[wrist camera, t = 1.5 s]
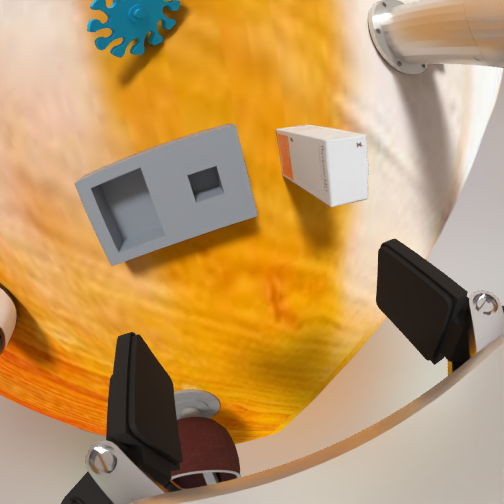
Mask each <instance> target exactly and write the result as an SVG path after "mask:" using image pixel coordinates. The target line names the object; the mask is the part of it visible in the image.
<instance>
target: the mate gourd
mask: <svg viewBox="0 0 504 504" xmlns="http://www.w3.org/2000/svg"><path fill="white" fill-rule="evenodd" d="M174 398H175V407H176V415H177V423H178V430H179V437H180V444H181V450H182V457H183V462H182V463H179V464H180V470H177V471H171V477H172V479H171V480H172V481H173V482H174V483H176V484H177V485H178V486H179V487H181V488H182V489H183V490H185V489H191V488H196V487H202V486H207V485H211V484H216V483H220V482H225V481H229V480H233V479H237V478H241V475H240V465H239V458H238V454H237V451H236V447H235V444H234V442H233V440H232V438H231V436H230V434H229V433H228V431H227V430H226V429H225V428H224V427H223V426H221V425H220V424H218V423H217V422H216V421H214V420H212V419H209V418H211V417H212V416H214V415H215V414H216V413H217V412H218V410H219V408H220V404H219V400H218V398H217V397H216V396H215V395H213V394H211V393H209V392H206V391H202V390H194V389H189V390H180V391H176V392H174Z"/></svg>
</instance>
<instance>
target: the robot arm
mask: <svg viewBox="0 0 504 504" xmlns="http://www.w3.org/2000/svg"><path fill="white" fill-rule="evenodd" d="M368 21H369V30H370V34H371V37H372V39H373V42H374V44H375V46H376V48H377V50H378V51H379V53H380V54H381V55H382V57H383V58H384V59H385V60H386V61H387V62H388V63H389V64H390V65H391V66H392V67H393V68H395V69H396V70H398V71H400V72H402V73H405V74H419V73H421V72H423V71H425V70H426V68H427V67H428V66H429V64H467V65H482V66H492V67H501V68H504V0H419V1H415V2H411V3H407V4H404V3H402V2H400V1H398V0H381V1H378V2H377V3H375V4H374V5H373V6H372V8H371V10H370V12H369V19H368ZM376 303H377V305H378V307H379V309H380V310H381V311H382V312H383V313H384V314H385V315H386V316H387V317H388V318H389V319H390V320H391V321H392V322H393V323H394V325H395V326H396V327H397V328H399V330H400V331H401V332H402V333H403V334H404V335H405V336H406V338H407V339H409V341H410V342H411V343H412V344H413V345H414V346H415V348H416V349H417V350H418V351H419V352H420V353H421V354H422V355H423V357H425V359H426V360H431V361H432V363H433V364H434V365H435V364H436V363H438V362H439V361H440V360H442V359H443V358H444V356H445V357H446V359H448V376H447V377H446V378H445V379H444V380H443V381H441V382H440V383H438V384H437V385H435V386H434V387H433V388H432V389H430V390H429V391H427V392H426V393H424V394H423V395H421V396H420V397H419V398H417V399H415V400H414V401H412V402H411V403H409V404H408V405H406V406H405V407H403V408H401V409H400V410H398V411H396V412H395V413H393V414H391V415H390V416H388V417H386V418H385V419H383V420H381V421H380V422H378V423H376V424H374V425H373V426H370V427H369V428H367V429H365V430H363V431H361V432H359V433H357V434H355V435H353V436H351V437H349V438H347V439H345V440H343V441H341V442H339V443H336V444H334V445H332V446H330V447H327V448H325V449H323V450H320V451H318V452H316V453H313V454H311V455H308V456H306V457H303V458H301V459H298V460H295V461H292V462H290V463H287V464H284V465H281V466H278V467H275V468H272V469H269V470H265V471H263V472H259V473H255V474H252V475H249V476H245V477H241V478H237V479H233V480H229V481H225V482H220V483H216V484H211V485H207V486H202V487H196V488H191V489H185V490H183V489H182V488H181V487H179V486H178V485H177V484H176V483H174V482H173V481H172V480H171V479H172V477H171V471H177V470H180V464H179V463H182V462H183V457H182V450H181V444H180V437H179V430H178V423H177V415H176V407H175V398H174V388H173V383H172V380H171V378H170V376H169V375H168V374H167V372H166V371H165V370H164V368H163V367H162V366H161V364H160V363H159V362H158V360H157V359H156V357H155V356H154V355H153V353H152V352H151V350H150V349H149V347H148V346H147V344H146V343H145V341H144V340H143V338H142V337H141V336H140V335H135V333H133V332H130V333H127V334H124V335H120V336H118V339H117V345H116V353H115V361H114V370H113V375H112V376H111V378H110V386H109V397H108V412H107V434H106V441H105V440H104V441H99V442H96V443H95V444H93V445H92V446H91V447H90V448H89V450H88V452H87V454H86V459H85V463H86V468H87V470H88V472H87V473H86V474H85V475H84V476H83V478H82V479H81V480H80V481H79V482H78V483H77V484H76V485H75V487H74V488H73V489H72V490H71V491H70V492H69V493H68V494H67V495H66V496H65V498H64V499H63V501H62V503H61V504H504V306H502V305H501V303H500V301H499V299H498V298H497V297H496V296H495V295H494V294H492V293H490V292H488V291H483V290H482V291H476V292H474V293H473V294H472V295H471V296H470V298H468V297H467V291H466V290H465V289H463V288H462V287H461V286H459V285H458V284H457V283H456V282H454V281H453V280H452V279H451V278H449V277H448V276H447V275H445V274H444V273H443V272H441V271H440V270H439V269H437V268H436V267H435V266H433V265H432V264H431V263H429V262H428V261H427V260H425V259H424V258H422V257H421V256H420V255H418V254H417V253H415V252H414V251H413V250H411V249H410V248H408V247H407V246H405V245H404V244H402V243H401V242H400V241H398V240H396V239H392V240H389V241H387V242H384V243H382V244H381V248H380V249H379V251H378V276H377V294H376Z"/></svg>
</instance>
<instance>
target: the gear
mask: <svg viewBox="0 0 504 504" xmlns="http://www.w3.org/2000/svg"><path fill="white" fill-rule="evenodd" d="M165 1H168V0H113V4H112V6H111V7H110V8H107V7H106V0H94V1H93V3H92V4H91V6H90V8H91V9H92V10H101V11H103V12H104V13H105V14H106V15H107V16H108V20H107V22H106V23H104V24H102V23H101V22H100V21H99V20H97V19H92V20H90V21H89V23H88V26H87V31H89V32H96V31H97V30H100V29H103V28H110V29H111V30H112V34H111V35H110V36H109V37H107V38H104V37H99V38H97V39H96V40H95V45H96V47H97V48H98V49H99V50H103V49H105V48H106V47H107V46H108V45H109V44H110V43H111V42H112V41H113V40H115V39H117V38H120V37H122V38H123V41H122V43H121V44H120V45H117V46H115V47H113V48H112V49H111V51H110V53H111V54H112V55H114V56H117V57H120V58H121V57H122V56H123V55H124V53H125V50H126V47H127V46H128V44H129V43H130V42H131V41H132V40H133V39H134V38H137V42H136V44H135V45H133V46H132V48H131V49H130V53H132V54H135V55H141V54H143V53H144V51H145V48H144V39H145V37H146V35H147V33H148V32H149V31H151V36H150V38H149V44H151V45H157V44H159V43H161V42H162V41H163V37H162V36H161V35H160V34H159V33H158V30H157V23H158V21H159V20H161V21H162V27H163V28H164V29H168V30H170V29H171V28H172V27H173V26H174V25H175V23H176V21H175V20H174V19H169V18H167V17H166V16H165V15H164V14H163V12H162V9H163V7H164V6H166V7H167V9H168V10H171V11H177V10H178V9H179V6H180V1H177V0H171V1H168V2H165Z"/></svg>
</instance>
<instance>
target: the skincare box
mask: <svg viewBox="0 0 504 504" xmlns="http://www.w3.org/2000/svg"><path fill="white" fill-rule="evenodd" d="M276 133H277V138H278V144H279V151H280V158H281V166H282V174H283V176H284V177H285V178H287V179H289V180H290V181H292V182H293V183H295V184H297V185H298V186H300V187H301V188H303V189H304V190H306V191H307V192H309V193H310V194H312V195H314V196H315V197H316V198H318V199H320V200H321V201H323V202H324V203H325V204H327V205H328V206H330V207H335V206H339V205H344V204H348V203H353V202H357V201H362V200H366V199H368V175H369V165H368V158H367V142H366V135H365V134H360V133H354V132H349V131H344V130H339V129H333V128H327V127H320V126H314V125H301V126H293V127H287V128H281V129H276Z"/></svg>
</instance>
